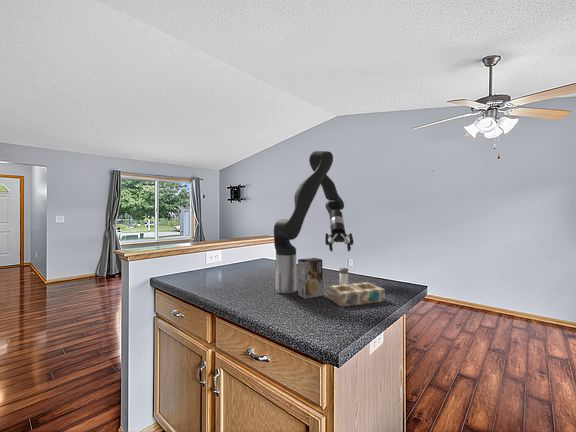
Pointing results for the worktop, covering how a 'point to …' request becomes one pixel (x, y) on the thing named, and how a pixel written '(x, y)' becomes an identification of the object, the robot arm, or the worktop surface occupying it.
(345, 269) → the plug
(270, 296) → the worktop surface
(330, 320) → the worktop surface
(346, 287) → the socket block
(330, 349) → the worktop surface
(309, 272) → the coffee box
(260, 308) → the worktop surface
